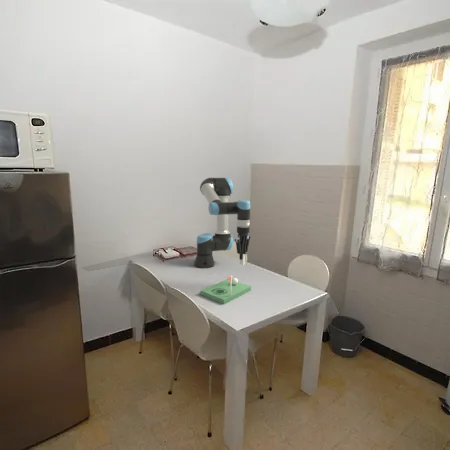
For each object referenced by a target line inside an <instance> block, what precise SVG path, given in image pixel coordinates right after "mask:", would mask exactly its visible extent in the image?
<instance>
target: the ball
mask: <svg viewBox="0 0 450 450" xmlns="http://www.w3.org/2000/svg"><path fill="white" fill-rule="evenodd" d="M238 282H239V280H238V278H236V277H232V284H234V285H236V284H237V283H238Z"/></svg>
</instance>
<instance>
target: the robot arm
mask: <svg viewBox="0 0 450 450" xmlns="http://www.w3.org/2000/svg"><path fill="white" fill-rule="evenodd" d="M199 191H200V194H202V195H203V196H204V197H205V199H206V201H207V203H208V213H209V214H210V215H211V216H212V215H213V216H216V231H215V232H214V235H213V233H210V232H209V233H208V232H207V233H201V234H199V235H197V237H196V257H195V259H194V265H193V266H195V268H201V269H210V268H213V267H215V265H216V264H215V260H214V256H213V255H214V254H213V252H217V251H218V252H219V251H224V252H225V251H231V249H232V248H233V246H234V245H233V244H234V242H235V245H236V253H237V254H238V255H239V265H241V266H244V265H245V263H246V262H245V259H246V255H247V253H248V251H249V244H250V239H251V236H249V234H250V221H251V220H250V219H251V201H250V200H247V199H246V200H243V199H242V200H238V201H234V202H233V201H232V202H230V201H229V198H230V197H231V195H232V194H233V193H234V184H233V181H232V179H231V178H228V177H207V178H206V179H204V180H203V181H202V182H201V183H200V186H199ZM229 215H236V233H237V238H235V239H234V237H233V235H232V234H231V232H230V231H229Z"/></svg>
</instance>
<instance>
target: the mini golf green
mask: <svg viewBox="0 0 450 450" xmlns="http://www.w3.org/2000/svg"><path fill="white" fill-rule="evenodd" d="M232 279H233V275H230V276H227V277H226V279H224V280H221V281H219V282H217V283H214V284H212V285H210V286H208V287H205V288H203V289H201V290H199V295H201V296H203V297H206V298H208V299H210V300H213V301H216V302H217V303H221V304H222V305H226V304H228V303H229V302H231V301H233V300H235V299H237V298H239V297H242V295H245V294H246V293H247V294H248V293H249V292H251V291H252V286H251V285H248V284H245V283H242V282H239V281H238V283H237V284H236V285H234V284H232Z"/></svg>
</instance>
